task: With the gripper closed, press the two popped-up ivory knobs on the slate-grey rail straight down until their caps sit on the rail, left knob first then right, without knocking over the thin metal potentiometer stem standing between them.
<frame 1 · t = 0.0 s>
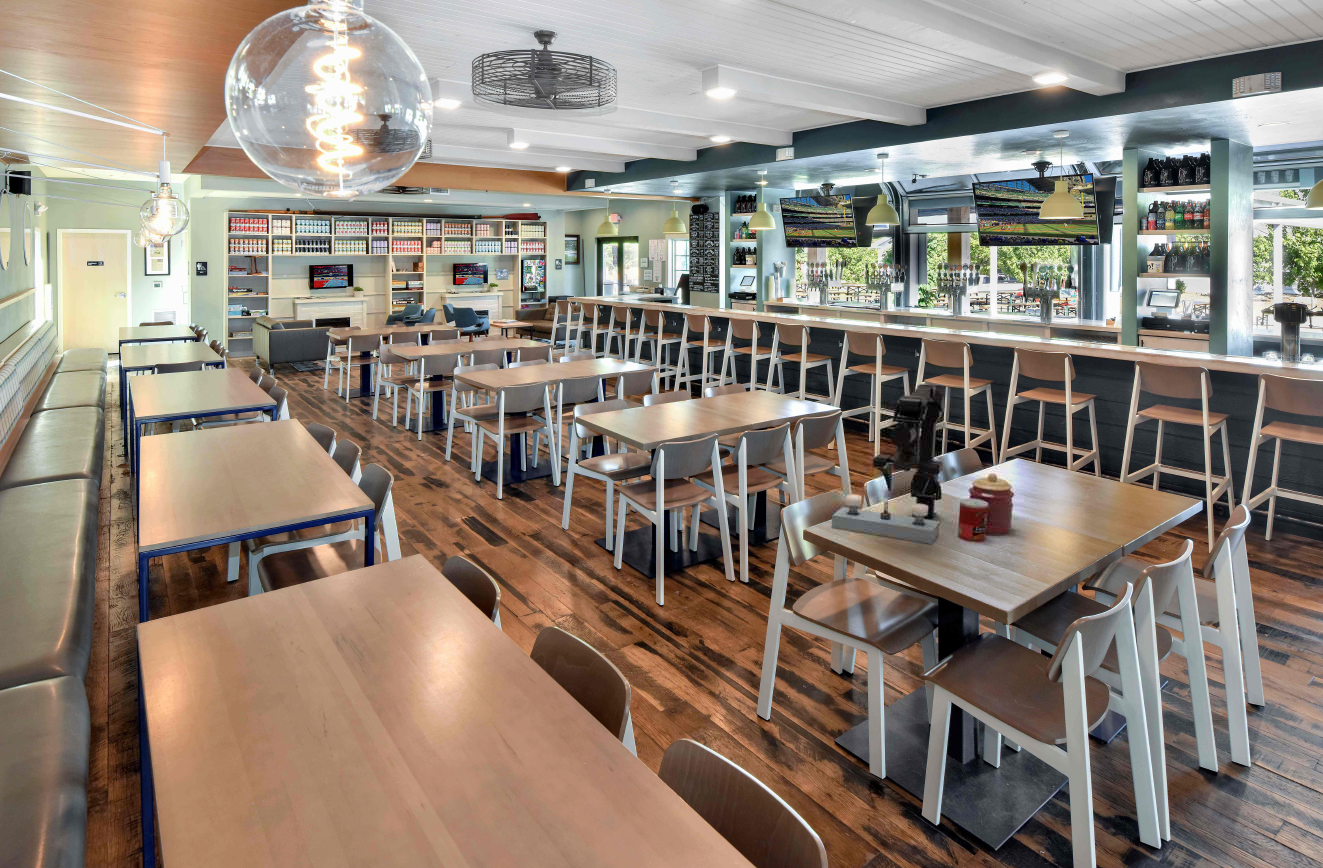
hand: (905, 492, 229), 15 cm above the table, fingers open, 9 cm apart
mount: (884, 530, 240), on the table
canister: (988, 529, 242), on the table
knob left: (853, 504, 244), point 7 cm above the table, slide at 0.0 cm
pot stem: (885, 518, 240), point 4 cm above the table, touching mount
canned food: (971, 538, 234), on the table
knob right: (919, 514, 234), point 7 cm above the table, slide at 0.0 cm
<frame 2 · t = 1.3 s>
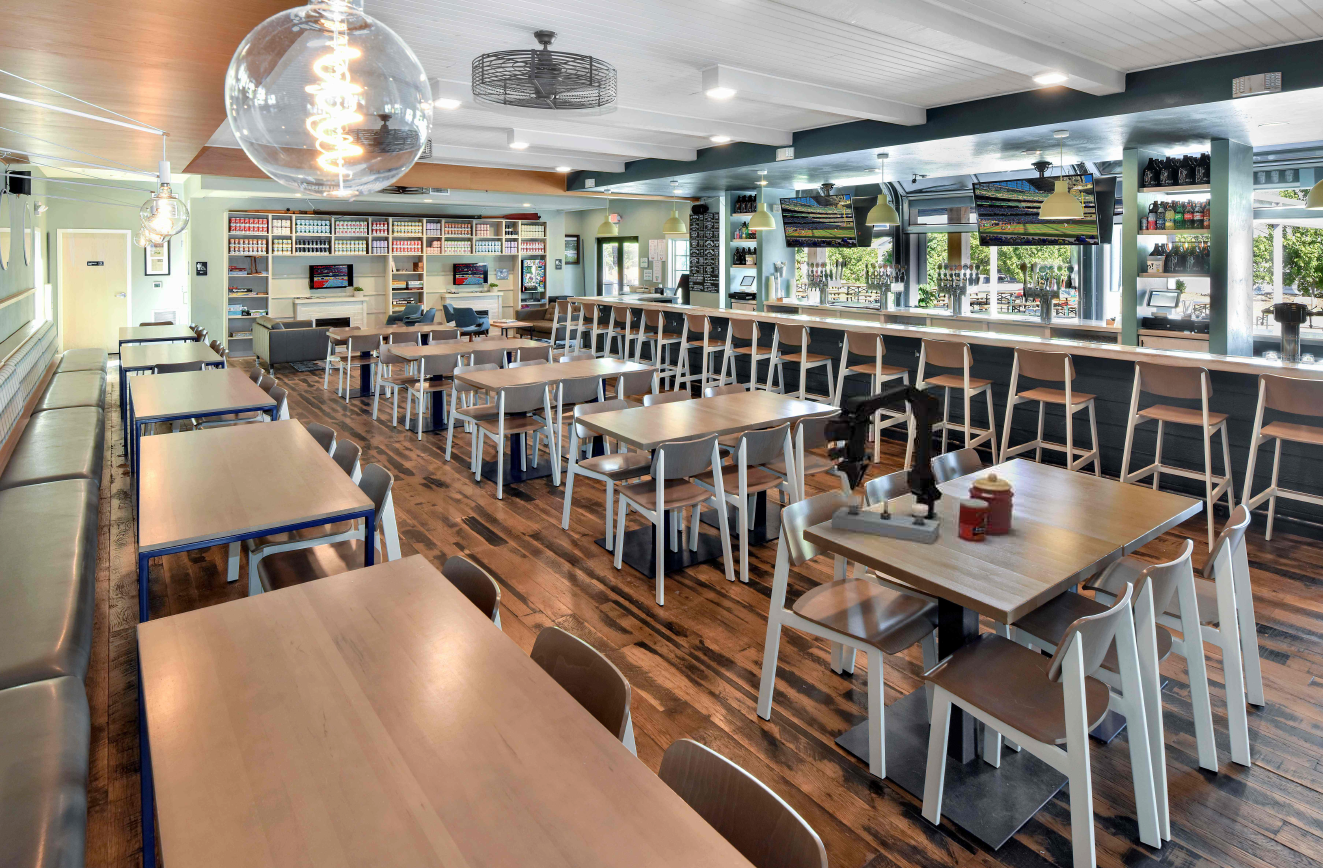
hand: (854, 488, 243), 12 cm above the table, fingers open, 4 cm apart
nothing on the table moved.
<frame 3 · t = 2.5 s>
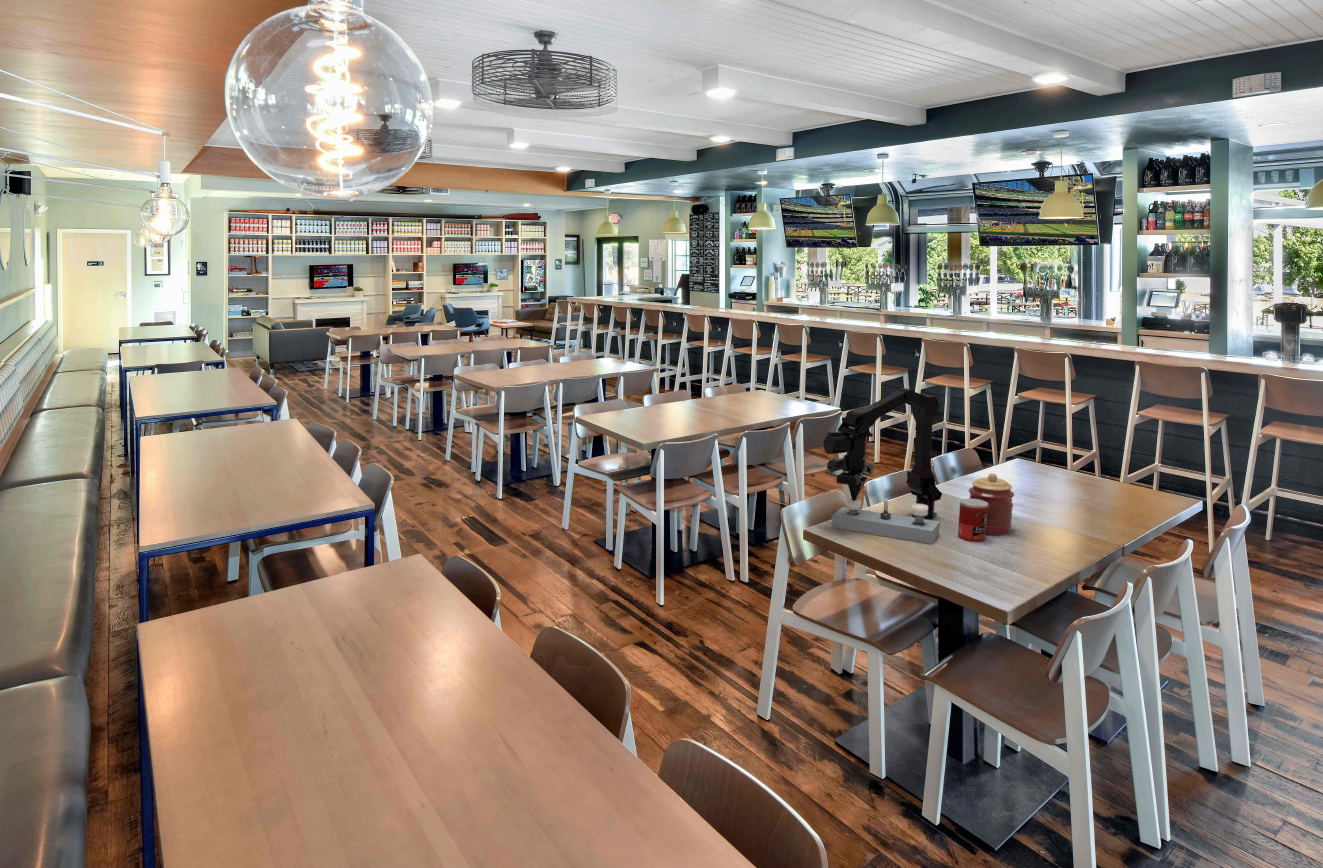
hand: (853, 500, 244), 8 cm above the table, fingers closed, pressing on knob left
knob left: (853, 508, 244), point 6 cm above the table, slide at 1.3 cm, touching gripper
everything else where it was.
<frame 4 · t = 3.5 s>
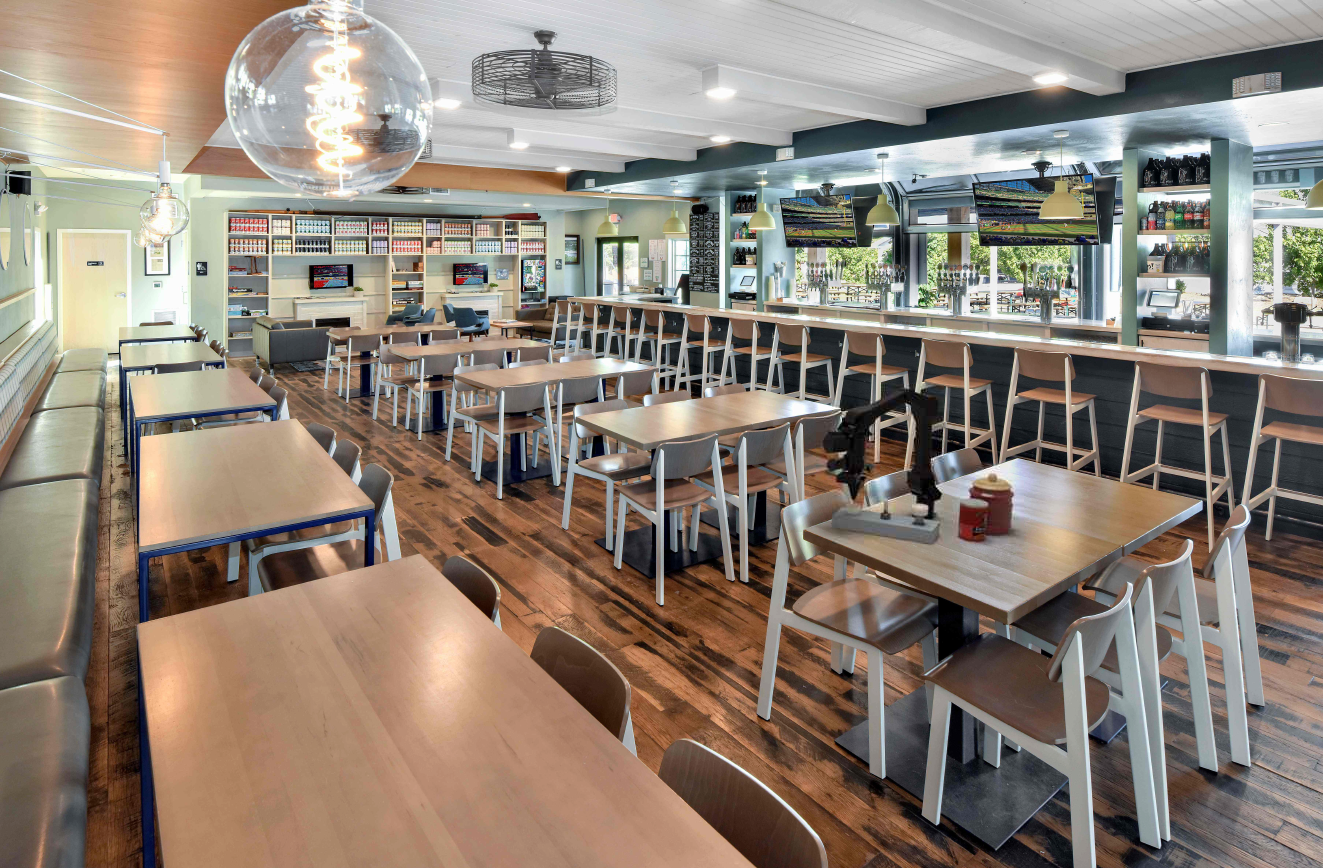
hand: (853, 499, 244), 8 cm above the table, fingers closed
knob left: (853, 513, 245), point 4 cm above the table, slide at 3.0 cm
everything else where it was.
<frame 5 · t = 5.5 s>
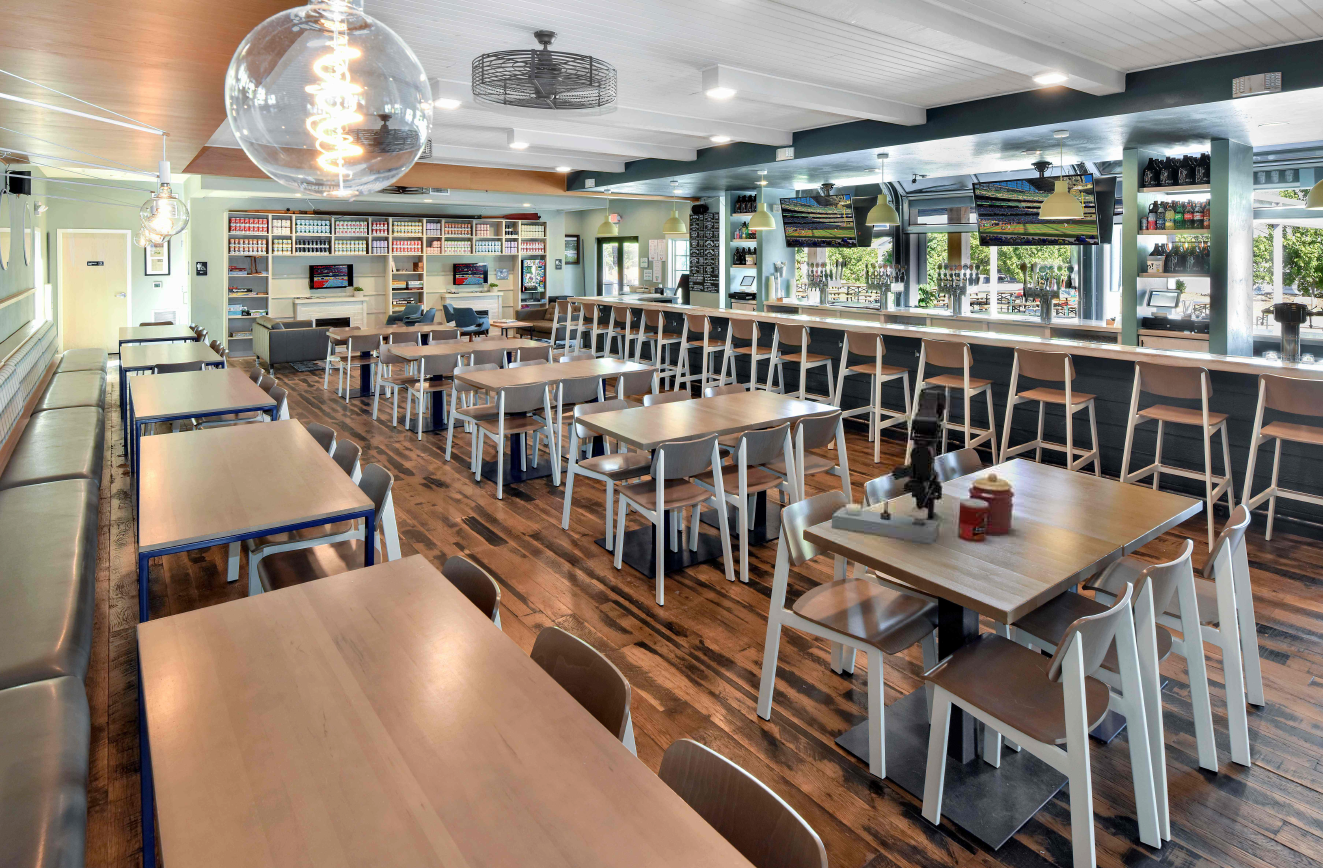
hand: (919, 508, 234), 9 cm above the table, fingers closed, pressing on knob right
knob right: (919, 517, 234), point 6 cm above the table, slide at 1.0 cm, touching gripper
everything else where it was.
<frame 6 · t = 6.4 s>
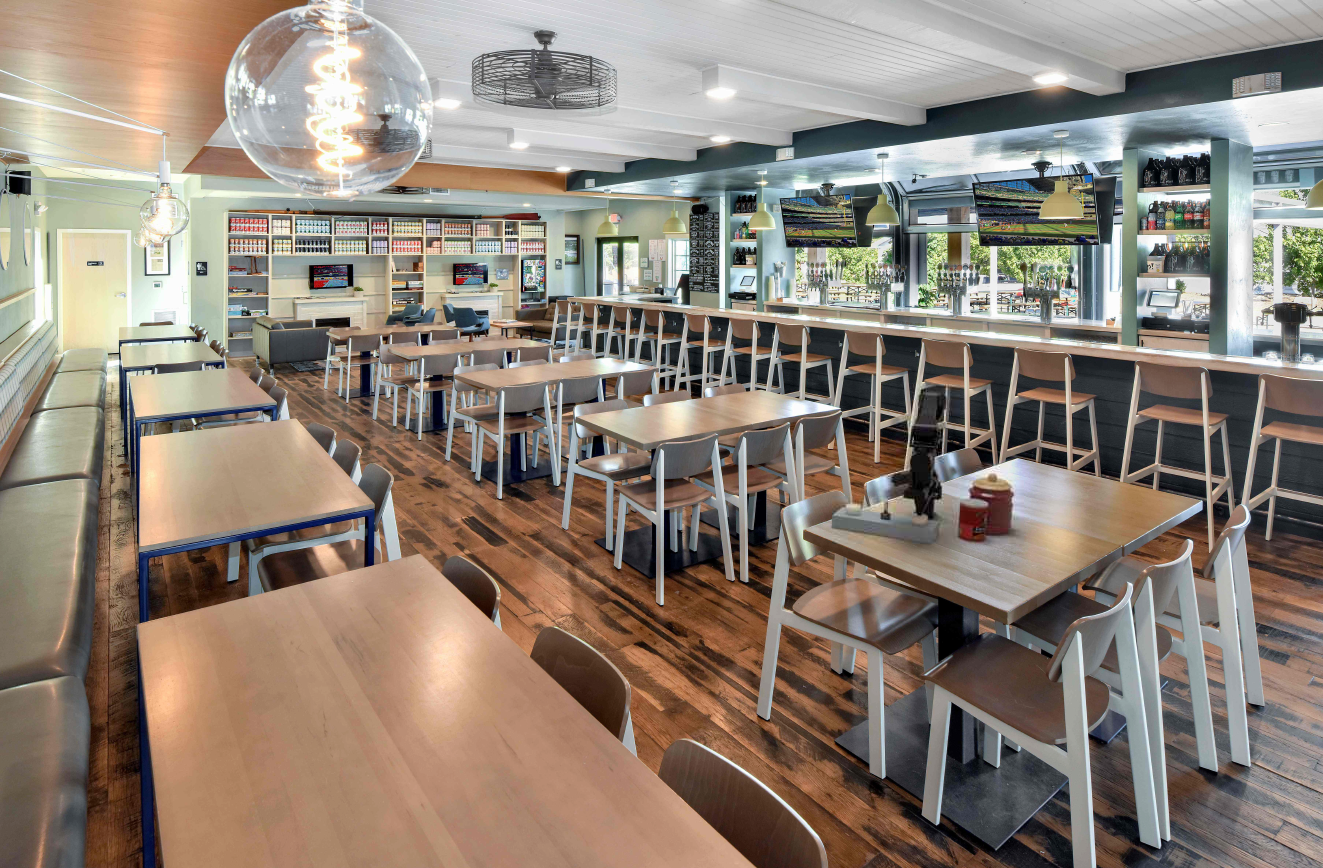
hand: (919, 515, 234), 7 cm above the table, fingers closed
knob right: (918, 523, 235), point 4 cm above the table, slide at 3.0 cm
everything else where it was.
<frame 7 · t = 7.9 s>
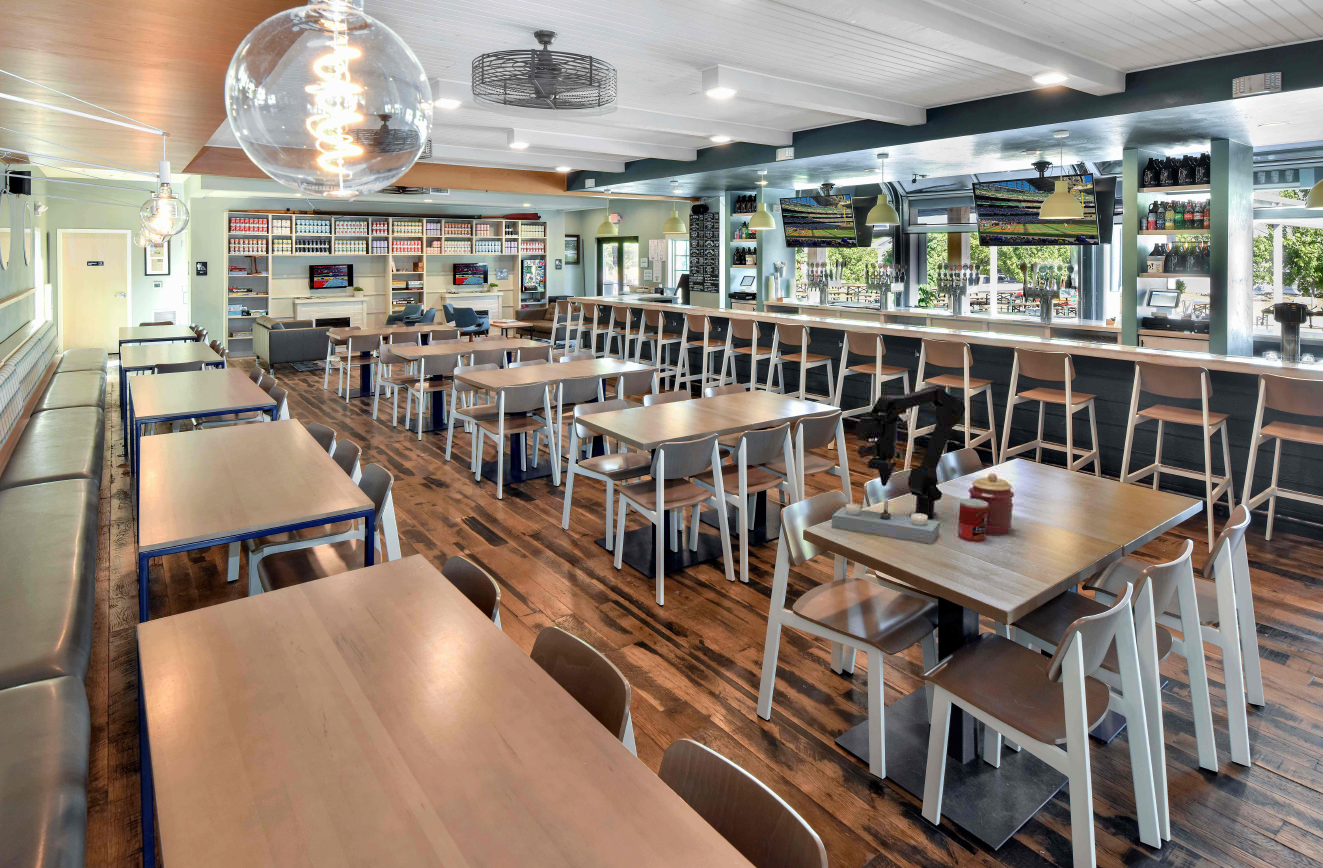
hand: (884, 485, 246), 12 cm above the table, fingers closed
nothing on the table moved.
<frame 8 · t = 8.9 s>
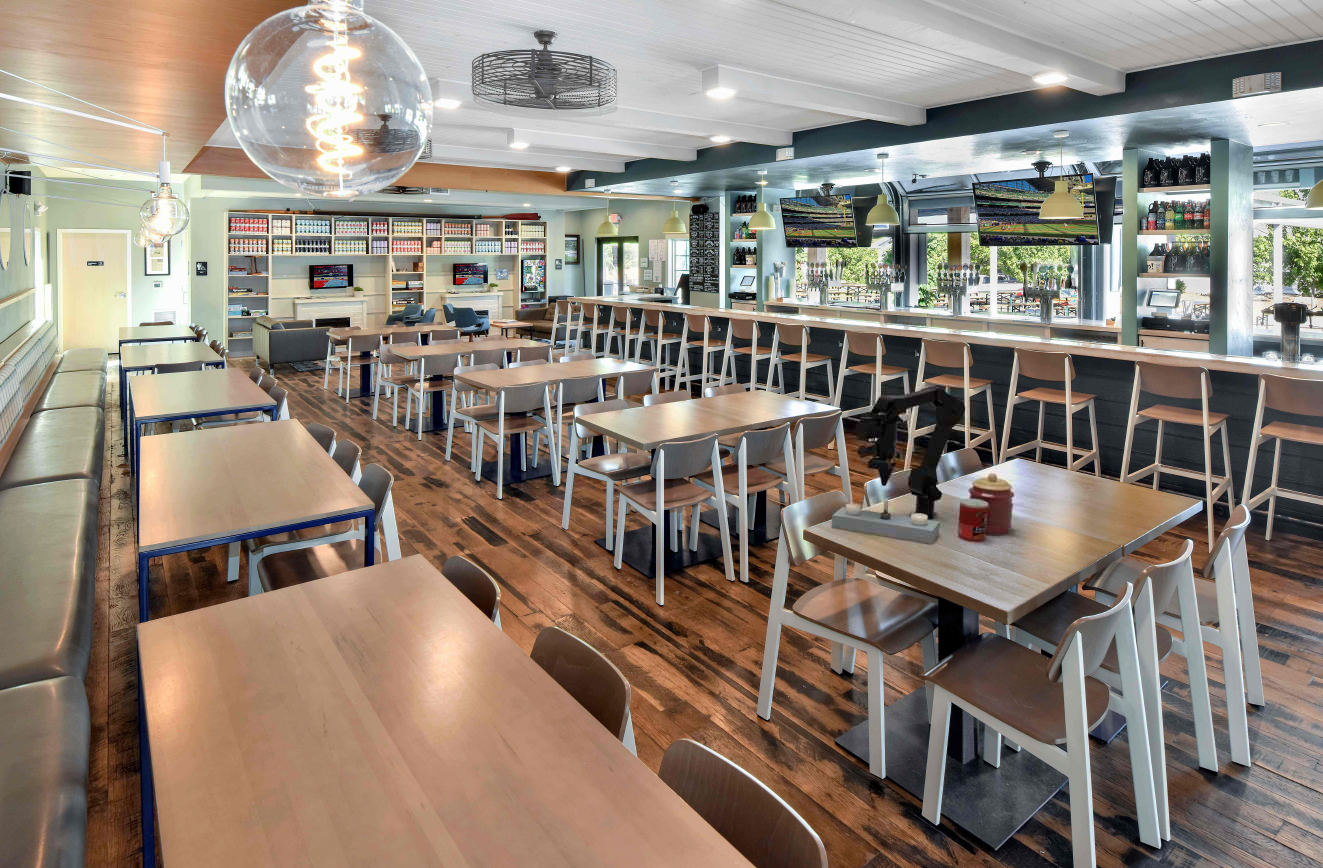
hand: (883, 485, 246), 12 cm above the table, fingers closed
nothing on the table moved.
at the end: knob left slide at 3.0 cm; knob right slide at 3.0 cm; pot stem tilted 0° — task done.
